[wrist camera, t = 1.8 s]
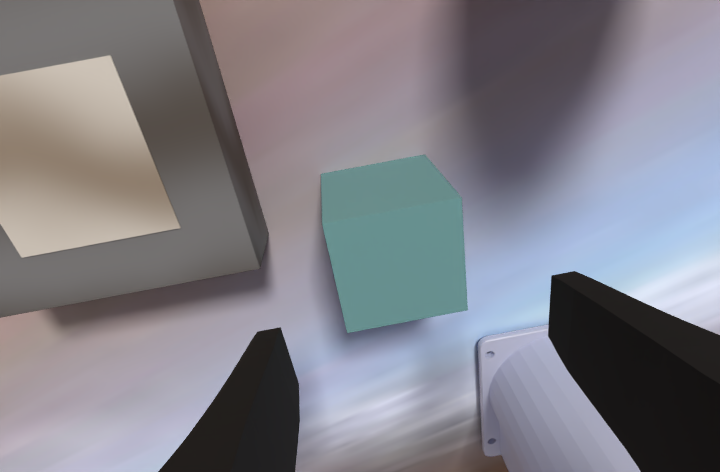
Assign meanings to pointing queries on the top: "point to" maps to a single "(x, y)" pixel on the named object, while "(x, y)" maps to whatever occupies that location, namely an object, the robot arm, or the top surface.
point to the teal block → (394, 242)
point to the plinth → (116, 154)
